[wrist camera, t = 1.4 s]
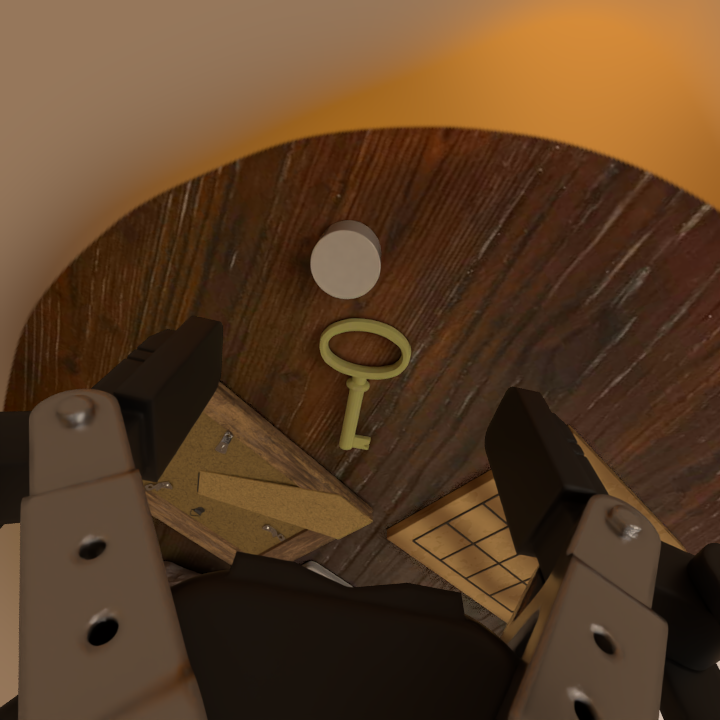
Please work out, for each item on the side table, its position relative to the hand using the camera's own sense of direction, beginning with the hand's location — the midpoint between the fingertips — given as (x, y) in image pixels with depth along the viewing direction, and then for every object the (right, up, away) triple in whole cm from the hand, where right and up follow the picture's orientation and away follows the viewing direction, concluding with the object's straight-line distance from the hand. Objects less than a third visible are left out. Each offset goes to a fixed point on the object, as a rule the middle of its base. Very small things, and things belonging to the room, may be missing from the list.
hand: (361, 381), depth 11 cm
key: (0, -1, +23) cm, 23 cm away
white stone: (-1, +8, +17) cm, 19 cm away
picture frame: (-13, -12, +31) cm, 35 cm away
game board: (+18, -18, +32) cm, 41 cm away
